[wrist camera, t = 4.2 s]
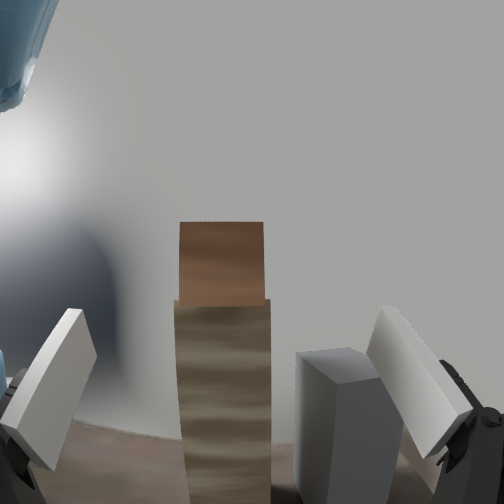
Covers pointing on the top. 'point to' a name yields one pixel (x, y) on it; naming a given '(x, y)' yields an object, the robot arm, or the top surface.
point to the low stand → (343, 429)
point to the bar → (221, 264)
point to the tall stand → (225, 401)
